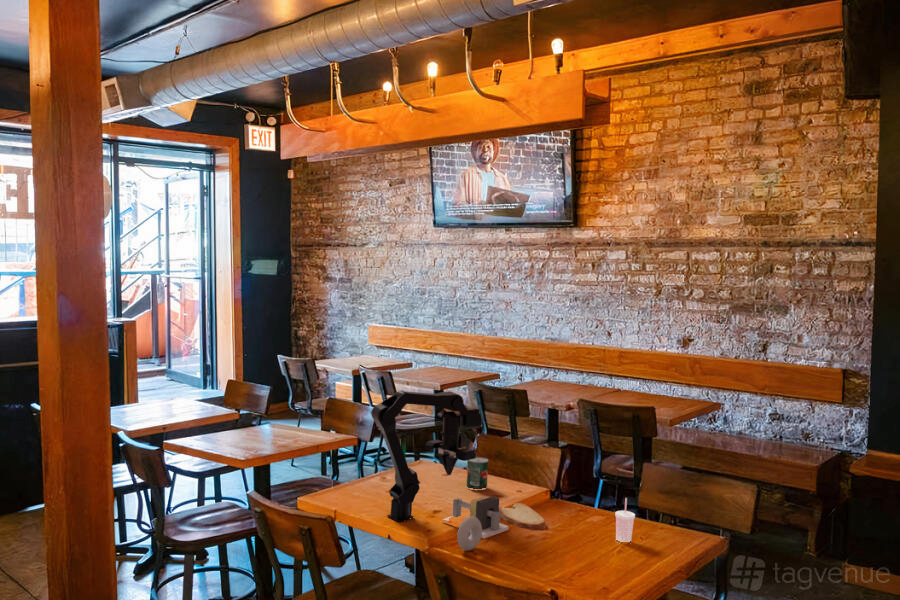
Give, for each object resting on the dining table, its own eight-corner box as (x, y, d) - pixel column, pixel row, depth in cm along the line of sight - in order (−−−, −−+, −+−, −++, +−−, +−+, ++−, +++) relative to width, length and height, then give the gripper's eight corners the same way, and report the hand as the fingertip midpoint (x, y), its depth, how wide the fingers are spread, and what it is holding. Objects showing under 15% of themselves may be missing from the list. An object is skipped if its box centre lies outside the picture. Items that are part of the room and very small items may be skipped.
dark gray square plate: (481, 529, 239) (482, 503, 239) (475, 527, 241) (476, 501, 241) (498, 523, 245) (499, 498, 245) (492, 521, 247) (493, 496, 247)
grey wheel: (474, 543, 231) (476, 511, 231) (483, 547, 229) (485, 514, 229) (453, 552, 224) (455, 519, 223) (463, 556, 221) (464, 522, 221)
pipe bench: (484, 538, 236) (485, 517, 236) (442, 522, 248) (443, 502, 248) (508, 529, 245) (509, 509, 244) (466, 514, 257) (467, 495, 257)
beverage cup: (619, 545, 236) (622, 501, 235) (610, 538, 241) (612, 495, 241) (637, 544, 237) (639, 500, 236) (627, 537, 243) (630, 494, 242)
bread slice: (545, 532, 245) (546, 520, 245) (490, 525, 250) (491, 513, 250) (552, 514, 263) (552, 504, 263) (500, 508, 267) (501, 497, 267)
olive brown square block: (476, 525, 241) (477, 502, 241) (469, 522, 244) (470, 500, 243) (491, 520, 247) (492, 498, 246) (484, 517, 249) (485, 496, 248)
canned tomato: (464, 485, 291) (465, 456, 291) (484, 484, 293) (485, 456, 292) (468, 491, 283) (470, 462, 283) (489, 491, 285) (490, 462, 284)
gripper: (487, 431, 257) (485, 477, 257) (447, 421, 269) (445, 464, 270) (465, 436, 248) (463, 483, 249) (425, 425, 261) (423, 470, 262)
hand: (449, 474), depth 258 cm, fingers closed
